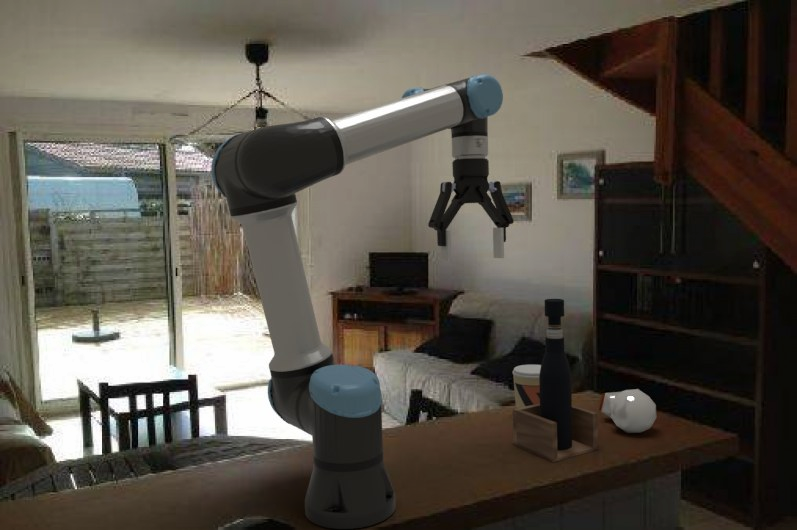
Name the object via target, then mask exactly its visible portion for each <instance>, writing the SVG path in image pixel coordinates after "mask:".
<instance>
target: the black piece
mask: <svg viewBox="0 0 797 530" xmlns="http://www.w3.org/2000/svg"><path fill="white" fill-rule="evenodd" d="M544 317H547V321H548V322H547V323H548V324H547V326H548V327H547V329H546V331H545V332H546V337H545V338H544V339H545V340H544V341H545V343H544V344H545V345H544V346H545V352H544V354H543V358H542V361H541V364H540V365H541V369H540V375H539V389H540V417H543V418H545V419H548V420H551V421H554V422H556V423H557V450H566V449H569V448H571V447H572V405H573V403H572V401H573V399H572V397H573V395H572V391H573V389H572V372H571V367H570V363H569V360H568V357H567V355H566V352H565V337H564V334H563V333H564V330H563V328H562V327H561V326H562V317H565V299H563V298H562V299H561V298H547V299H544Z"/></svg>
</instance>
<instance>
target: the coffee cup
mask: <svg viewBox="0 0 797 530" xmlns="http://www.w3.org/2000/svg"><path fill="white" fill-rule="evenodd" d="M540 369H541V364H521V365H517V366H515V367H514V368H513V370H512V375H513V377H512V378H513V386H514V387H513V389H514V390H513V391H514V399H515V400H514V401H515V409H516V408H521V407H525V406H530V405H534V404H539V403H540V389H539V375H540Z"/></svg>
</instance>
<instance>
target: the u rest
mask: <svg viewBox="0 0 797 530" xmlns="http://www.w3.org/2000/svg"><path fill="white" fill-rule="evenodd" d="M598 425H599V424H598V412H595V411H593V410H589V409H587V408H583V407H580V406H577V405H573V404H572V447H571V448H569V449H566V450H557V423H556V422H554V421H551V420H548V419H545V418H543V417H540V403H539V404H534V405H530V406H525V407H521V408H516V407H515V408H513V409H512V439H513V440H512V443H513V446H515V447H518V448H520V449H522V450H524V451H527V452H529V453H532V454H534V455H535V456H538V457H541V458H542V459H545V460H546V461H549V462H552V463H554V462H559V461H562V460H565V459H570V458H574V457H576V456H579V455H584V454H586V453H591V452H593V451H594V452H595V451H597V450H598V451H599V442H598V441H599V440H598V439H599V438H598V435H599V433H598V432H599V431H598V429H599V427H598Z"/></svg>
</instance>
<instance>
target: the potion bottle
mask: <svg viewBox="0 0 797 530" xmlns="http://www.w3.org/2000/svg"><path fill="white" fill-rule="evenodd" d="M598 411H600V412H601V413H602V414H604V415H606V416H607V417H608V418H610V419H612V421H613V422H614V424H615V425H616V427H618V428H620V429H621V430H623V432H625V433H627V434H637V433H639V434H641V433H643V432H645V431H648V430H649V429H651V428H652V426H653V424H654V423H655V421H656V419H657V405H656V403H655V402H654V401H653V399H651V397H650V396H649V395H648V394H646V393H644V392H643V391H641V390H640V389H639V388H636V389H625V390H622V391H615V392H614V391H613V392H604V393H602V396H601V400H600V404H599V408H598Z"/></svg>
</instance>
